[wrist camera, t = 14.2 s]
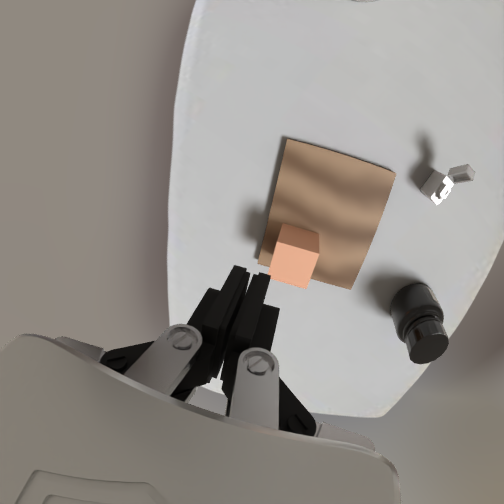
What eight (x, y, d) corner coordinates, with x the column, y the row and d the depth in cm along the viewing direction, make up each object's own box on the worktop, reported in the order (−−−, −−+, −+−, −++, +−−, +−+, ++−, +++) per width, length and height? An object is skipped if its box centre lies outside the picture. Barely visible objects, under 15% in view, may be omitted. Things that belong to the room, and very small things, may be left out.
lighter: (426, 197, 34) (448, 214, 27) (419, 190, 34) (441, 206, 27) (451, 163, 30) (477, 173, 23) (444, 155, 30) (470, 164, 23)
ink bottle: (424, 322, 43) (441, 368, 33) (384, 323, 45) (395, 371, 35) (438, 280, 39) (463, 323, 29) (396, 279, 41) (414, 326, 31)
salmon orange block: (282, 223, 40) (276, 241, 34) (319, 233, 39) (319, 253, 34) (273, 255, 43) (266, 277, 37) (308, 265, 42) (306, 289, 36)
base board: (287, 138, 35) (287, 139, 34) (393, 172, 34) (396, 173, 33) (258, 260, 45) (257, 263, 44) (350, 285, 43) (350, 289, 42)
